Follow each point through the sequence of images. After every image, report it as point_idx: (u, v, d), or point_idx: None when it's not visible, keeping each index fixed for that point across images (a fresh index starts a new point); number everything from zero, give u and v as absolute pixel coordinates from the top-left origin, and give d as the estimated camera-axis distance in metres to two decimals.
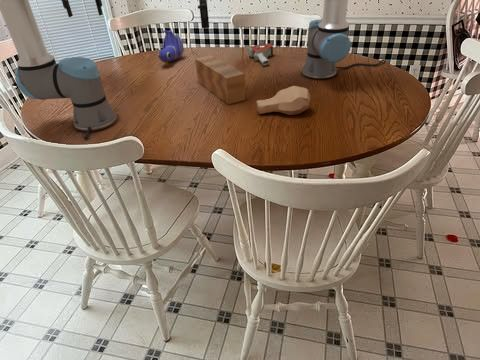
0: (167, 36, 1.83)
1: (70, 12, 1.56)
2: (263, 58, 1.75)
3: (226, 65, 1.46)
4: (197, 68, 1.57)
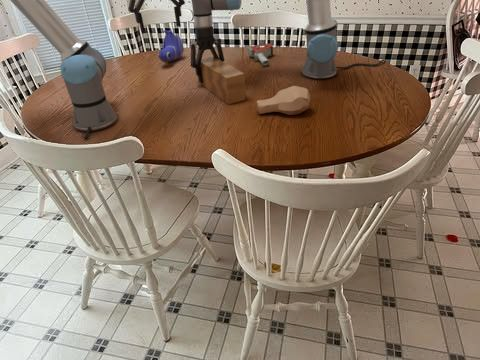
0: (167, 36, 1.83)
1: None
2: (263, 58, 1.75)
3: (226, 65, 1.46)
4: None
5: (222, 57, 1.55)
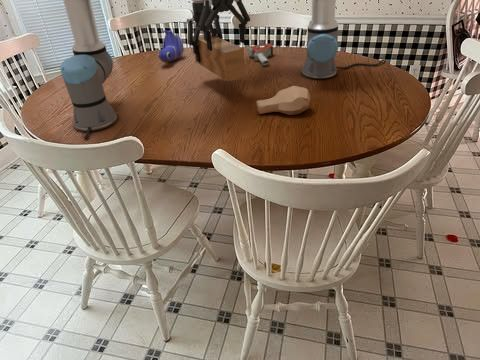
0: (167, 36, 1.83)
1: None
2: (263, 58, 1.75)
3: (224, 41, 1.40)
4: None
5: (220, 35, 1.50)
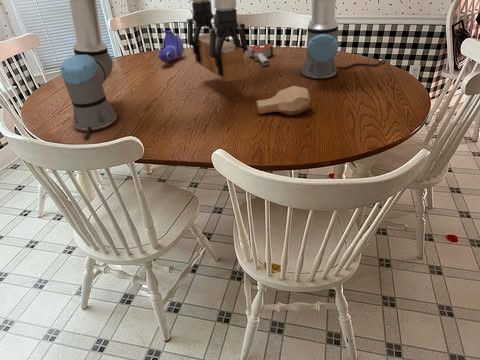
0: (167, 36, 1.83)
1: None
2: (263, 58, 1.75)
3: (224, 41, 1.40)
4: None
5: None
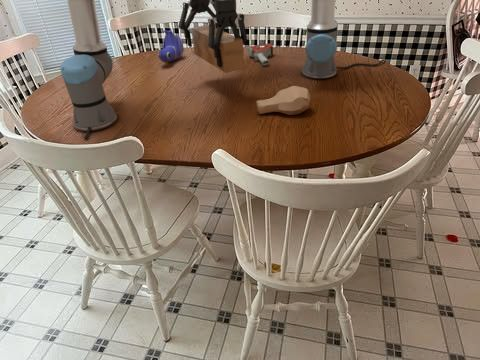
0: (167, 36, 1.83)
1: None
2: (263, 58, 1.75)
3: (223, 33, 1.38)
4: (193, 38, 1.49)
5: None
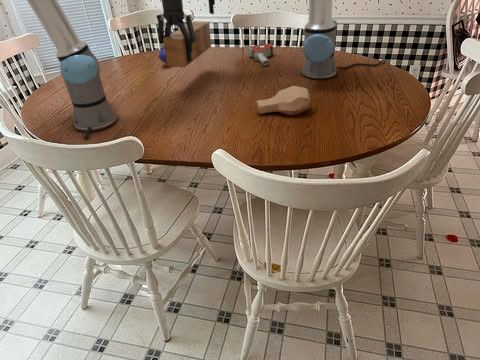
0: None
1: None
2: (263, 58, 1.75)
3: None
4: None
5: None
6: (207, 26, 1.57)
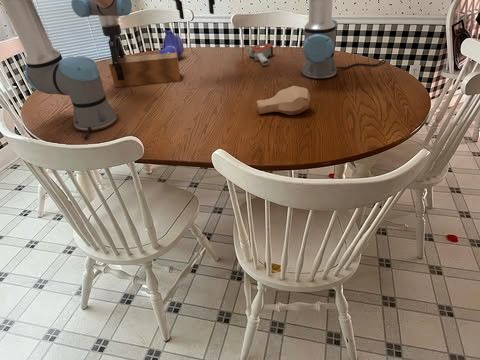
0: (167, 36, 1.83)
1: None
2: (263, 58, 1.75)
3: (138, 60, 1.57)
4: None
5: None
6: (172, 60, 1.59)
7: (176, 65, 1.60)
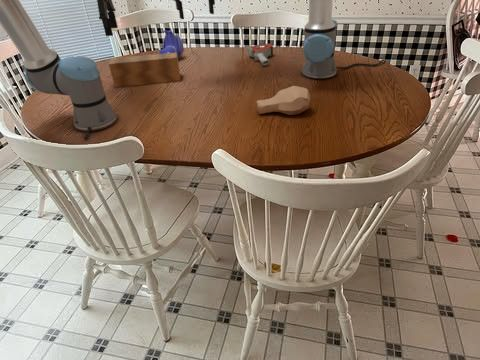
0: (167, 36, 1.83)
1: (113, 24, 1.56)
2: (263, 58, 1.75)
3: (138, 60, 1.57)
4: None
5: None
6: (172, 60, 1.59)
7: (176, 65, 1.60)
